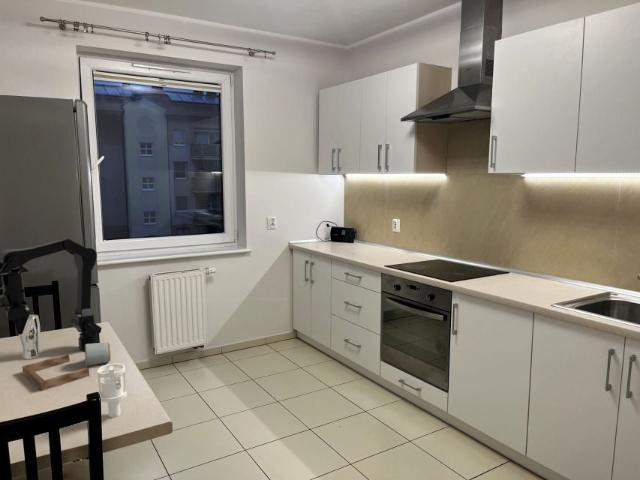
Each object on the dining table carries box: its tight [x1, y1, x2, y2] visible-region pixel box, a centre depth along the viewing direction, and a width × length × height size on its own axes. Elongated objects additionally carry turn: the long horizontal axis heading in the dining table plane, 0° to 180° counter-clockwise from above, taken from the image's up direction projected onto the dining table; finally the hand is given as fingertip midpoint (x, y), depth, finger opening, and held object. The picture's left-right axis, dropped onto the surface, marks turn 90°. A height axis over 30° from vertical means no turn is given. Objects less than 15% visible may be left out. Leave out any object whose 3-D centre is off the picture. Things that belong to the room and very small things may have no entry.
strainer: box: [96, 363, 128, 419], centre depth 132 cm, size 7×7×15 cm
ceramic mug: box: [84, 342, 112, 367], centre depth 169 cm, size 11×8×8 cm
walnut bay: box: [21, 353, 90, 392], centre depth 159 cm, size 14×19×2 cm
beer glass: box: [18, 314, 42, 360], centre depth 174 cm, size 7×7×15 cm
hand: (19, 330), depth 162 cm, fingers open, 9 cm apart
